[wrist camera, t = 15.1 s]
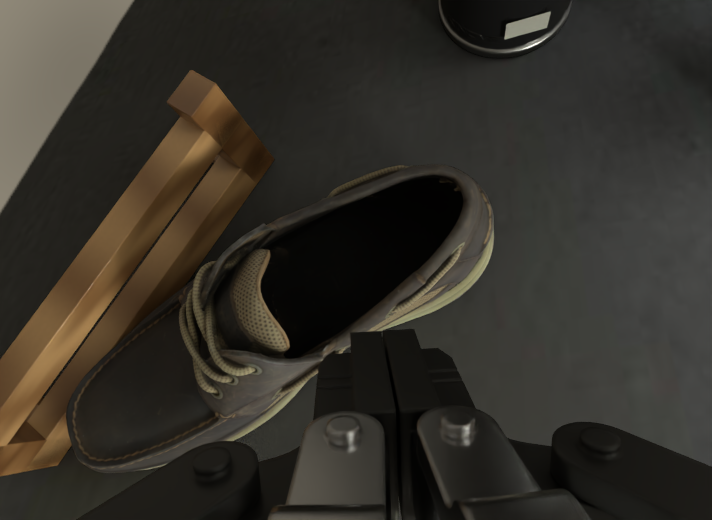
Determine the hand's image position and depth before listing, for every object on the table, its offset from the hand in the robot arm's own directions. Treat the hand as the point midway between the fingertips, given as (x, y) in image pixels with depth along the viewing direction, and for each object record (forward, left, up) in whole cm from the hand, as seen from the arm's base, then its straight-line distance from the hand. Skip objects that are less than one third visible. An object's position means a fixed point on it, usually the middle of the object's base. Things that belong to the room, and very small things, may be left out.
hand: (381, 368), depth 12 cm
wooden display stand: (+6, -22, -22) cm, 31 cm away
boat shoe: (+1, -10, -22) cm, 24 cm away
